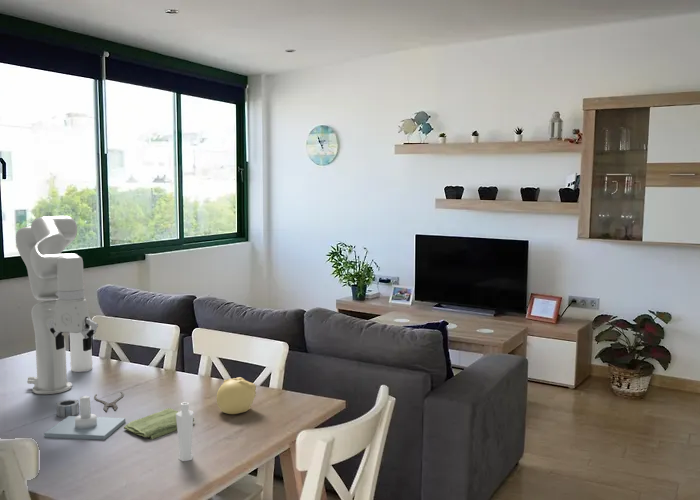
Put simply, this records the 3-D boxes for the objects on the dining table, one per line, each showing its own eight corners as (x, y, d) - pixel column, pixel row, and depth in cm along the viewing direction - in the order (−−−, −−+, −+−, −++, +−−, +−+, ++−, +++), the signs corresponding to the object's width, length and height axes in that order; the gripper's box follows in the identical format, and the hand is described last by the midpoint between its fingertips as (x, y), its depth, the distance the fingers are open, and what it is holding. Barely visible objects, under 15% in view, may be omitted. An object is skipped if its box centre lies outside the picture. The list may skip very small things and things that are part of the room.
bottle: (78, 373, 251) (75, 296, 248) (66, 370, 255) (63, 294, 252) (96, 368, 258) (94, 293, 255) (84, 365, 262) (81, 291, 259)
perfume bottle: (178, 454, 177) (177, 400, 175) (194, 454, 177) (193, 400, 176) (175, 462, 172) (174, 406, 171) (192, 461, 172) (191, 406, 171)
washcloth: (121, 431, 194) (121, 421, 194) (171, 415, 208) (171, 405, 207) (147, 442, 186) (147, 431, 185) (197, 425, 200) (197, 415, 199)
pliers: (120, 389, 230) (136, 405, 214) (120, 392, 230) (136, 408, 214) (91, 394, 225) (105, 411, 208) (91, 396, 225) (105, 413, 209)
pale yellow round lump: (260, 408, 214) (260, 375, 213) (239, 419, 203) (239, 386, 202) (231, 402, 219) (231, 371, 218) (209, 414, 208) (209, 381, 207)
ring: (52, 417, 204) (52, 406, 204) (63, 410, 211) (63, 399, 210) (72, 417, 204) (72, 406, 204) (82, 410, 210) (82, 400, 210)
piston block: (44, 437, 188) (42, 404, 187) (69, 419, 202) (67, 389, 201) (104, 439, 187) (103, 406, 186) (125, 421, 201) (124, 391, 200)
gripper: (39, 296, 202) (41, 351, 204) (88, 298, 198) (90, 353, 200) (55, 293, 210) (57, 345, 211) (103, 294, 206) (105, 348, 207)
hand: (73, 349), depth 206 cm, fingers open, 9 cm apart
